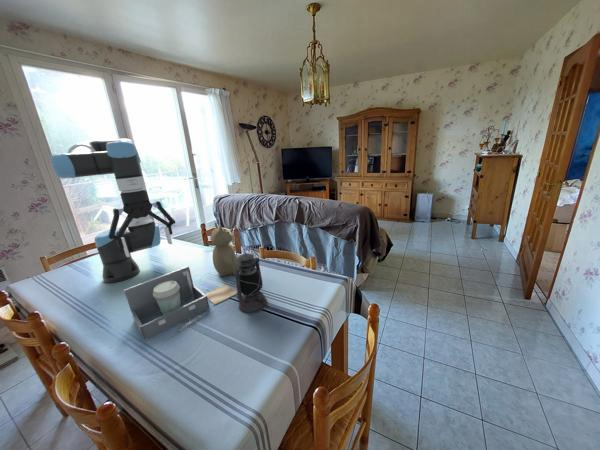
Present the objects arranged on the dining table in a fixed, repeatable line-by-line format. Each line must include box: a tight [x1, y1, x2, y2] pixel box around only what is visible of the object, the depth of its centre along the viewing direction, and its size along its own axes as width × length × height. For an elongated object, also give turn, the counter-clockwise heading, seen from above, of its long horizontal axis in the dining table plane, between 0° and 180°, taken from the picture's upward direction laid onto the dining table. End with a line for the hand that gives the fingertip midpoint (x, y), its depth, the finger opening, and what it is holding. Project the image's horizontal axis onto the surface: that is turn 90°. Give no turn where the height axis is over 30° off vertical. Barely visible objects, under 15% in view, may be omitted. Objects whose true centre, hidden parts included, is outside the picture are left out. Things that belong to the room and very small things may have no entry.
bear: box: [209, 221, 240, 277], centre depth 116 cm, size 21×16×25 cm
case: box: [123, 265, 210, 341], centre depth 89 cm, size 15×22×13 cm, turn 134°
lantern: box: [233, 229, 268, 315], centre depth 88 cm, size 12×11×30 cm
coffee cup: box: [153, 281, 182, 316], centre depth 89 cm, size 8×8×12 cm
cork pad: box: [204, 284, 238, 306], centre depth 101 cm, size 10×10×1 cm
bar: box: [176, 311, 206, 333], centre depth 86 cm, size 10×1×1 cm, turn 146°
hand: (150, 249), depth 88 cm, fingers open, 13 cm apart
